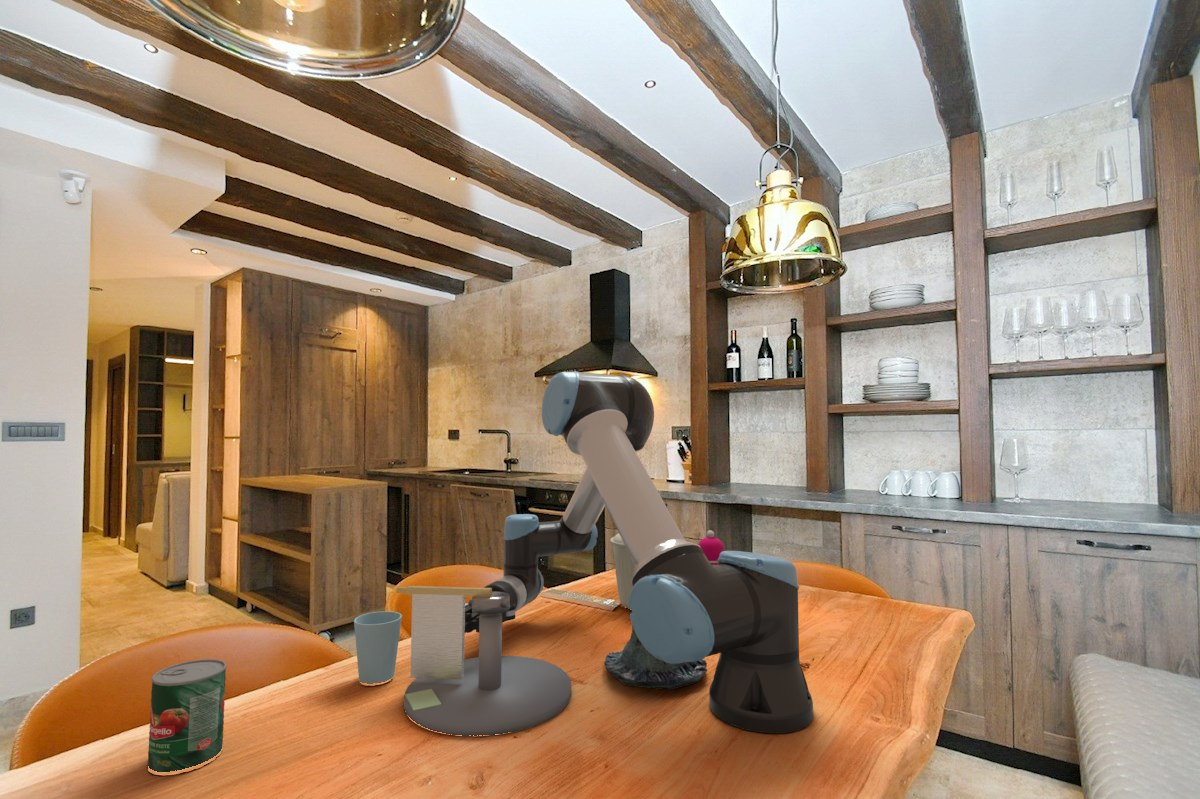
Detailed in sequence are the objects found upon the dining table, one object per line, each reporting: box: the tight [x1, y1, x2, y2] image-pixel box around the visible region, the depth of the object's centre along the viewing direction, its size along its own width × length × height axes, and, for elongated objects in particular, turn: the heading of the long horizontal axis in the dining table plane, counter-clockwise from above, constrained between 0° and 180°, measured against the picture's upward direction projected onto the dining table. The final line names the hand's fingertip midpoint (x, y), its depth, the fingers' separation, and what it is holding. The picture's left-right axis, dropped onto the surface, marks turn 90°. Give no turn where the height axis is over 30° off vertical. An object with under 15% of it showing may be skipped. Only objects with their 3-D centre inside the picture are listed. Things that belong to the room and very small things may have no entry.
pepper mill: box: [698, 529, 725, 566], centre depth 132 cm, size 7×7×20 cm
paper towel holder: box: [403, 613, 572, 736], centre depth 92 cm, size 26×26×12 cm
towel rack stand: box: [396, 585, 510, 680], centre depth 93 cm, size 19×6×14 cm, turn 84°
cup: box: [353, 610, 403, 684], centre depth 98 cm, size 8×8×10 cm
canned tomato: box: [147, 658, 227, 772], centre depth 74 cm, size 8×8×11 cm
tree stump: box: [603, 625, 708, 691], centre depth 100 cm, size 18×20×18 cm
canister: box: [609, 533, 635, 610], centre depth 141 cm, size 18×18×21 cm
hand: (439, 637), depth 94 cm, fingers closed
